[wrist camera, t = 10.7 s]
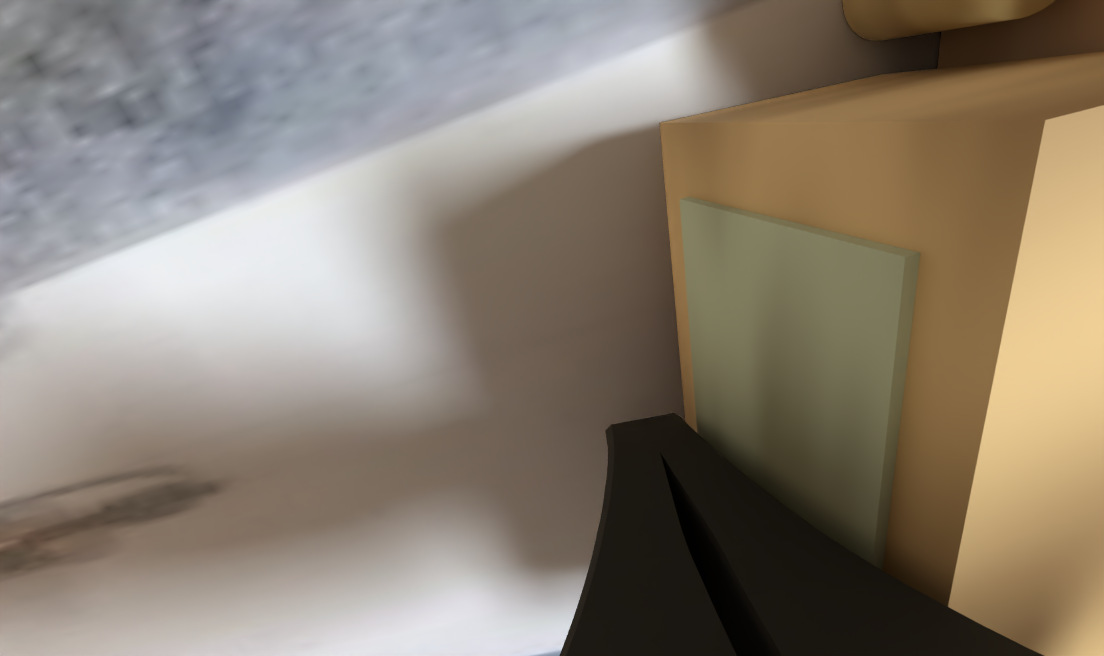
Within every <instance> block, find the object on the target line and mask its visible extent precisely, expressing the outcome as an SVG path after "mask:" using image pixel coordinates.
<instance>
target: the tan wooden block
mask: <svg viewBox="0 0 1104 656" xmlns="http://www.w3.org/2000/svg"><path fill="white" fill-rule="evenodd" d="M660 134H661V145H662V157H663V168H664V180H665V191H666V203H667V215H668V226H669V238H670V249H671V261H672V272H673V284H674V295H675V307H676V319H677V330H678V342H679V353H680V365H681V376H682V388H683V400H684V411H685V422H686V423H687V424H688V425H689V426H690V427H691V428H692V429H693V430H694V431H695V432H696V433H698V434H699V435H700V436H701V437H702V438H703V439H704V440H705V441H706V442H707V443H708V444H710V445H711V446H712V447H713V448H714V449H715V450H716V451H717V452H719V453H720V454H721V455H722V456H723V457H724V458H725V459H727V460H728V461H729V462H730V463H731V464H733V465H734V466H735V467H736V468H737V469H739V470H740V471H741V472H742V473H744V474H745V475H746V476H747V477H748V478H750V479H751V480H752V481H753V482H755V483H756V484H757V485H758V486H760V487H761V488H762V489H763V490H765V491H766V492H767V493H769V494H770V495H771V496H773V497H774V498H775V499H776V500H778V501H779V502H780V503H782V504H783V505H784V506H786V507H787V508H789V509H790V510H791V511H793V512H794V513H796V514H797V515H798V516H800V517H801V518H802V519H804V520H805V521H807V522H808V523H809V524H811V525H812V526H814V527H815V528H817V529H818V530H820V531H821V532H822V533H824V534H825V535H827V536H828V537H830V538H831V539H833V540H834V541H836V542H837V543H839V544H840V545H842V546H844V547H845V548H847V549H848V550H850V551H852V552H853V553H855V554H856V555H858V556H860V557H861V558H863V559H864V560H866V561H868V562H869V563H871V564H872V565H874V566H876V567H877V568H879V569H881V570H882V571H884V572H886V573H887V574H889V575H891V576H893V577H894V578H896V579H898V580H900V581H901V582H903V583H905V584H907V585H908V586H910V587H912V588H914V589H916V590H918V591H919V592H921V593H923V594H925V595H927V596H929V597H931V598H932V599H934V600H936V601H938V602H940V603H942V604H944V605H946V606H947V607H949V608H951V609H953V610H955V611H957V612H959V613H961V614H962V615H964V616H966V617H968V618H970V619H972V620H974V621H975V622H977V623H979V624H981V625H983V626H985V627H987V628H989V629H991V630H993V631H995V632H997V633H999V634H1001V635H1003V636H1005V637H1007V638H1009V639H1011V640H1013V641H1015V642H1017V643H1019V644H1021V645H1023V646H1025V647H1027V648H1029V649H1031V650H1033V651H1036V652H1038V653H1040V654H1042V655H1044V656H1104V52H1095V53H1085V54H1076V55H1066V56H1056V57H1046V58H1036V59H1027V60H1017V61H1007V62H997V63H987V64H978V65H968V66H958V67H948V68H938V69H929V70H919V71H909V72H899V73H889V74H882V75H877V76H872V77H868V78H863V79H859V80H854V81H849V82H845V83H840V84H836V85H831V86H826V87H822V88H817V89H813V90H808V91H803V92H799V93H794V94H790V95H785V96H780V97H776V98H771V99H767V100H762V101H757V102H753V103H748V104H744V105H739V106H734V107H730V108H725V109H721V110H716V111H711V112H707V113H702V114H698V115H693V116H688V117H684V118H679V119H675V120H670V121H665V122H661V123H660Z"/></svg>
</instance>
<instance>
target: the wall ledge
mask: <svg viewBox="0 0 1104 656" xmlns="http://www.w3.org/2000/svg"><path fill="white" fill-rule="evenodd" d="M842 1H843V11H844V15H845V18H846V21H847V23H848V24H849V26H850V28H851V29H852V30H853V31H854V32H855V33H856V34H857V35H859V36H860V37H862V38H864V39H867V40H872V41H882V40H889V39H895V38H902V37H908V36H914V35H920V34H927V33H933V32H939V31H942V32H941V40H940V49H939V57H938V66H937V69H938V68H948V67H958V66H968V65H978V64H987V63H997V62H1007V61H1017V60H1027V59H1036V58H1046V57H1056V56H1066V55H1076V54H1085V53H1095V52H1104V0H842Z"/></svg>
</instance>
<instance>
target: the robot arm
mask: <svg viewBox="0 0 1104 656" xmlns="http://www.w3.org/2000/svg"><path fill="white" fill-rule="evenodd" d="M606 437H607V444H608V468H607V480H606V487H605V494H604V501H603V508H602V514H601V519H600V523H599V528H598V532H597V537H596V541H595V546H594V550H593V555H592V558H591V562H590V566H589V570H588V573H587V577H586V580H585V584H584V587H583V590H582V593H581V597H580V600H579V603H578V606H577V609H576V612H575V615H574V618H573V621H572V624H571V626H570V629H569V632H568V635H567V637H566V640H565V643H564V646H563V648H562V651H561V654H560V656H1044V655H1042V654H1040V653H1038V652H1036V651H1033V650H1031V649H1029V648H1027V647H1025V646H1023V645H1021V644H1019V643H1017V642H1015V641H1013V640H1011V639H1009V638H1007V637H1005V636H1003V635H1001V634H999V633H997V632H995V631H993V630H991V629H989V628H987V627H985V626H983V625H981V624H979V623H977V622H975V621H974V620H972V619H970V618H968V617H966V616H964V615H962V614H961V613H959V612H957V611H955V610H953V609H951V608H949V607H947V606H946V605H944V604H942V603H940V602H938V601H936V600H934V599H932V598H931V597H929V596H927V595H925V594H923V593H921V592H919V591H918V590H916V589H914V588H912V587H910V586H908V585H907V584H905V583H903V582H901V581H900V580H898V579H896V578H894V577H893V576H891V575H889V574H887V573H886V572H884V571H882V570H881V569H879V568H877V567H876V566H874V565H872V564H871V563H869V562H868V561H866V560H864V559H863V558H861V557H860V556H858V555H856V554H855V553H853V552H852V551H850V550H848V549H847V548H845V547H844V546H842V545H840V544H839V543H837V542H836V541H834V540H833V539H831V538H830V537H828V536H827V535H825V534H824V533H822V532H821V531H820V530H818V529H817V528H815V527H814V526H812V525H811V524H809V523H808V522H807V521H805V520H804V519H802V518H801V517H800V516H798V515H797V514H796V513H794V512H793V511H791V510H790V509H789V508H787V507H786V506H784V505H783V504H782V503H780V502H779V501H778V500H776V499H775V498H774V497H773V496H771V495H770V494H769V493H767V492H766V491H765V490H763V489H762V488H761V487H760V486H758V485H757V484H756V483H755V482H753V481H752V480H751V479H750V478H748V477H747V476H746V475H745V474H744V473H742V472H741V471H740V470H739V469H737V468H736V467H735V466H734V465H733V464H731V463H730V462H729V461H728V460H727V459H725V458H724V457H723V456H722V455H721V454H720V453H719V452H717V451H716V450H715V449H714V448H713V447H712V446H711V445H710V444H708V443H707V442H706V441H705V440H704V439H703V438H702V437H701V436H700V435H699V434H698V433H696V432H695V431H694V430H693V429H692V428H691V427H690V426H689V425H688V424H687V423H686V422H685V421H684V420H683V419H682V418H681V417H679V416H678V415H676V414H675V413H672V414H667V415H661V416H656V417H650V418H645V419H639V420H634V421H628V422H623V423H618V424H612V425H610V426H609V428H608V429H607V430H606Z"/></svg>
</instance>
